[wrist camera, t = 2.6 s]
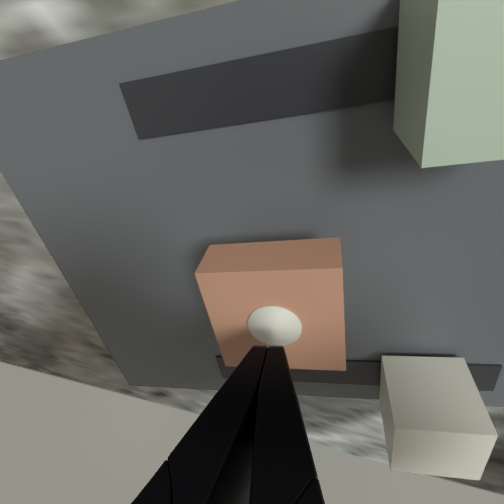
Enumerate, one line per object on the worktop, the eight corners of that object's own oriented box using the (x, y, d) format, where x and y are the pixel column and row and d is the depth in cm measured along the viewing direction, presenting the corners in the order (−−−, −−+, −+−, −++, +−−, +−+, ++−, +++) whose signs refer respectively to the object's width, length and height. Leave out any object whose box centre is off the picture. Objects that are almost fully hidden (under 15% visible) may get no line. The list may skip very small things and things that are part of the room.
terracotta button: (339, 237, 9) (343, 270, 8) (343, 334, 11) (346, 373, 10) (209, 245, 10) (193, 275, 9) (235, 333, 12) (225, 368, 11)
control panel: (703, -104, 7) (825, -148, 5) (517, 369, 15) (541, 411, 14) (-6, 69, 12) (-61, 75, 10) (145, 356, 20) (128, 386, 19)
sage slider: (566, -51, 6) (722, -106, 4) (526, 112, 8) (617, 147, 5) (400, -13, 7) (441, -37, 5) (392, 129, 9) (421, 167, 6)
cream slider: (464, 357, 13) (498, 436, 10) (452, 403, 14) (479, 480, 12) (381, 355, 13) (394, 427, 11) (379, 399, 15) (390, 471, 12)
